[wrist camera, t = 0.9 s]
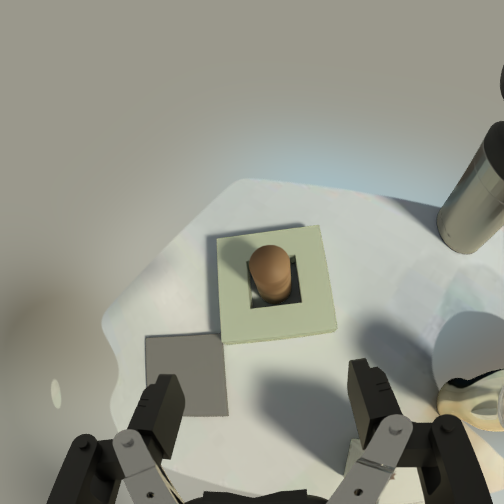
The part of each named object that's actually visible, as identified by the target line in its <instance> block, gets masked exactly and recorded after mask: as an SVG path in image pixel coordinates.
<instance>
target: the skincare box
mask: <svg viewBox="0 0 504 504" xmlns="http://www.w3.org/2000/svg"><path fill="white" fill-rule="evenodd" d="M364 451H365V450H362V446H361V442H360V439H351V443H350V448H349V453H348V458H347V463H346V467H345V472H344V478H345V477H346V475H347V474H348V472H349V471H350V469H351V467H352V466H353V464H354V463H355V462H356V460H357V459H360V458H361V456H362V455H363V453H364ZM376 504H425V501H424V496H423V492H422V488H421V483H420V479H419V475H418V472H417V468H416V467H396V469H395V471H394V473H393V474H392V476H391V478H390V480H389V482H388V484H387V486H386V487H385V489H384V491H383V493H382V494H381V496H380V498H379V500H378V501H377V503H376Z"/></svg>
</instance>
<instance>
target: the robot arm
mask: <svg viewBox="0 0 504 504" xmlns="http://www.w3.org/2000/svg"><path fill="white" fill-rule="evenodd" d="M500 90H501V94H502V97H503V99H504V66H503V69H502V73H501V79H500ZM503 225H504V121H499V122H496V123H495V124H493V125H492V126H491V128H490V129H489V131H488V133H487V134H486V136H485V138H484V140H483V142H482V144H481V145H480V147H479V149H478V151H477V152H476V154H475V156H474V158H473V159H472V161H471V163H470V164H469V166H468V168H467V169H466V171H465V173H464V174H463V176H462V177H461V179H460V181H459V182H458V184H457V185H456V187H455V188H454V190H453V191H452V193H451V194H450V196H449V197H448V199H447V200H446V202H445V203H444V205H443V206H442V208H441V209H440V211H439V213H438V216H437V226H438V230H439V233H440V235H441V237H442V239H443V240H444V242H445V243H446V244H447V245H448V246H449V247H450V248H451V249H453V250H454V251H456V252H458V253H461V254H472V253H474V252H476V251H477V250H478V249H479V248H480V247H481V246H482V245H483V244H484V243H486V242H487V241H488V240H489V239H490V238H491V237H492V236H493V235H494V234H495V233H496V232H497V231H498V230H499V229H500V228H501V227H502V226H503ZM347 389H348V396H349V400H350V403H351V407H352V411H353V414H354V418H355V422H356V426H357V430H358V434H359V438H360V442H361V446H362V450H365V451H364V453H363V455H362V456H361V458H360V459H357V460H356V462H355V463H354V464H353V466H352V467H351V469H350V471H349V472H348V474H347V475H346V477H345V478H344V479H343V481H342V482H341V484H340V485H339V487H338V488H337V489H336V491H335V492H334V494H333V495H332V496H331V498H330V499H329V500H327V499H324V498H321V497H318V496H313V495H307V489H304V490H293V491H280V492H277V493H273V494H269V495H265V496H261V497H256V498H251V497H246V496H241V495H237V494H233V493H228V492H208V491H204V494H203V497H201V498H196V499H193V500H190V501H188V502H186V503H185V502H184V501H183V499H182V498H181V497H180V495H179V494H178V492H177V491H176V489H175V488H174V486H173V484H172V483H171V481H170V479H169V478H168V476H167V475H166V473H165V471H164V469H163V467H162V466H161V462H162V459H170V460H171V456H172V453H173V449H174V445H175V441H176V438H177V434H178V431H179V427H180V423H181V420H182V416H183V413H184V409H185V396H184V393H183V391H182V388H181V386H180V383H179V381H178V378H177V376H176V375H175V374H159V376H158V378H157V380H156V383H155V384H150V385H149V386H148V387H147V388H146V389H145V390H144V391H143V393H142V395H141V398H140V400H139V402H138V405H137V407H136V409H135V412H134V414H133V416H132V419H131V421H130V423H129V426H128V428H127V430H123V431H121V432H119V433H118V434H117V435H116V436H115V437H114V439H111V440H101V441H97V440H96V438H95V437H94V436H92V435H90V434H82V435H80V436H78V437H76V438H75V439H74V441H73V442H72V444H71V447H70V449H69V451H68V453H67V455H66V458H65V460H64V462H63V465H62V467H61V469H60V472H59V474H58V476H57V479H56V481H55V484H54V486H53V489H52V491H51V493H50V496H49V498H48V501H47V504H115V501H116V498H117V494H118V490H119V487H120V483H121V480H122V479H124V482H125V484H126V487H127V489H128V491H129V493H130V495H131V498H132V500H133V502H134V504H376V503H377V501H378V500H379V498H380V496H381V494H382V493H383V491H384V489H385V487H386V486H387V484H388V482H389V480H390V478H391V476H392V474H393V473H394V471H395V469H396V467H416V468H417V472H418V475H419V479H420V483H421V488H422V492H423V496H424V501H425V504H493V502H492V499H491V496H490V493H489V490H488V487H487V484H486V481H485V478H484V476H483V473H482V470H481V468H480V465H479V462H478V460H477V457H476V455H475V452H474V450H473V447H472V445H471V442H470V440H469V438H468V435H467V433H466V431H465V429H464V426H463V424H462V422H461V420H460V419H459V418H458V417H456V416H455V415H451V414H444V415H440V416H439V417H437V418H436V419H435V420H434V422H433V423H416V422H412V421H411V420H410V419H409V418H407V417H406V416H403V414H402V412H401V410H400V407H399V405H398V403H397V400H396V398H395V395H394V393H393V391H392V390H391V386H390V384H389V382H388V379H387V377H386V374H385V373H384V372H383V371H382V370H381V369H380V368H378V367H373V368H370V367H369V364H368V362H367V360H366V358H362V359H356V360H350V361H349V368H348V382H347Z"/></svg>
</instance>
